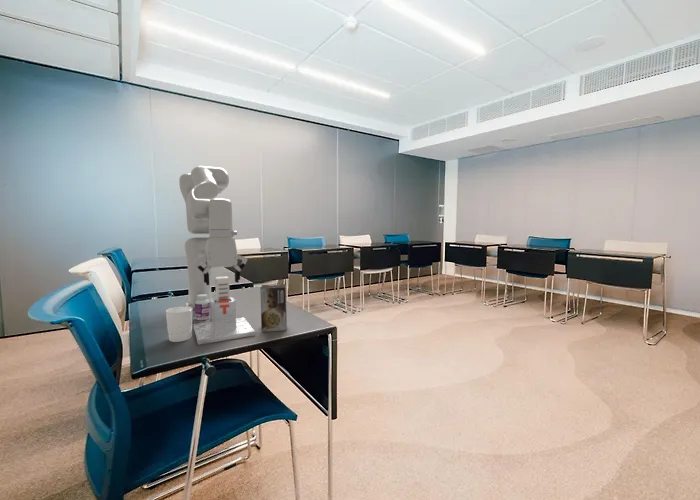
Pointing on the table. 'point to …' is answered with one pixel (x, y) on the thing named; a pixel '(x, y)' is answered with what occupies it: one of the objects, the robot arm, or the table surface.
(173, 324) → the white cup
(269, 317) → the coffee box
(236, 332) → the stand
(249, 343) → the table surface
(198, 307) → the pill bottle
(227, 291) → the column
